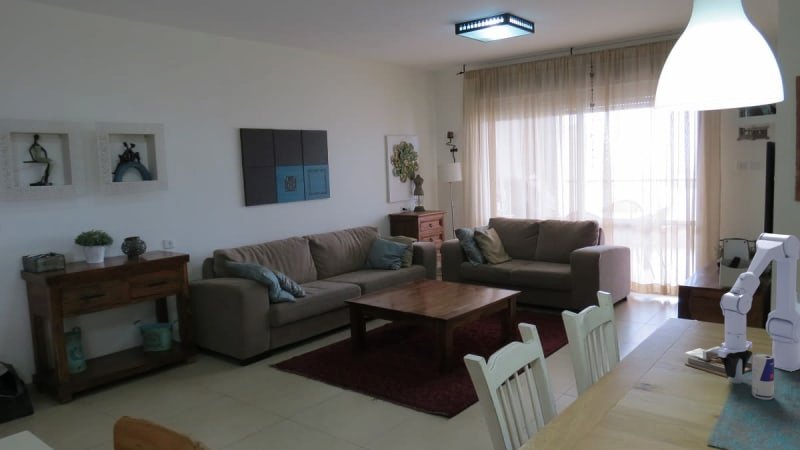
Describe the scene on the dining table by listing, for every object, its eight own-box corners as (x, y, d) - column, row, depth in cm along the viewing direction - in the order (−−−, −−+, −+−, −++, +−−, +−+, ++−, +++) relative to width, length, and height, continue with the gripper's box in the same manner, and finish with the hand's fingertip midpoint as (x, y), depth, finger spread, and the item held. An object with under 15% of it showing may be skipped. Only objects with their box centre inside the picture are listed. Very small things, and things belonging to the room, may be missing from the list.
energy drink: (777, 400, 163) (777, 359, 162) (756, 400, 164) (756, 358, 163) (769, 393, 168) (769, 353, 167) (748, 392, 169) (749, 352, 168)
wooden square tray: (711, 356, 201) (711, 350, 201) (755, 368, 188) (755, 361, 187) (685, 365, 194) (685, 358, 194) (729, 378, 181) (729, 371, 181)
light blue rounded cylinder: (733, 378, 181) (733, 356, 180) (744, 381, 178) (744, 359, 177) (726, 380, 179) (726, 358, 178) (737, 384, 176) (737, 361, 175)
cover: (698, 349, 201) (698, 341, 201) (721, 355, 194) (721, 347, 194) (684, 354, 197) (684, 346, 197) (706, 360, 191) (706, 351, 190)
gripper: (736, 325, 184) (736, 366, 185) (708, 333, 177) (708, 376, 178) (759, 329, 178) (759, 372, 179) (731, 338, 171) (730, 383, 172)
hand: (735, 375), depth 178 cm, fingers open, 4 cm apart
